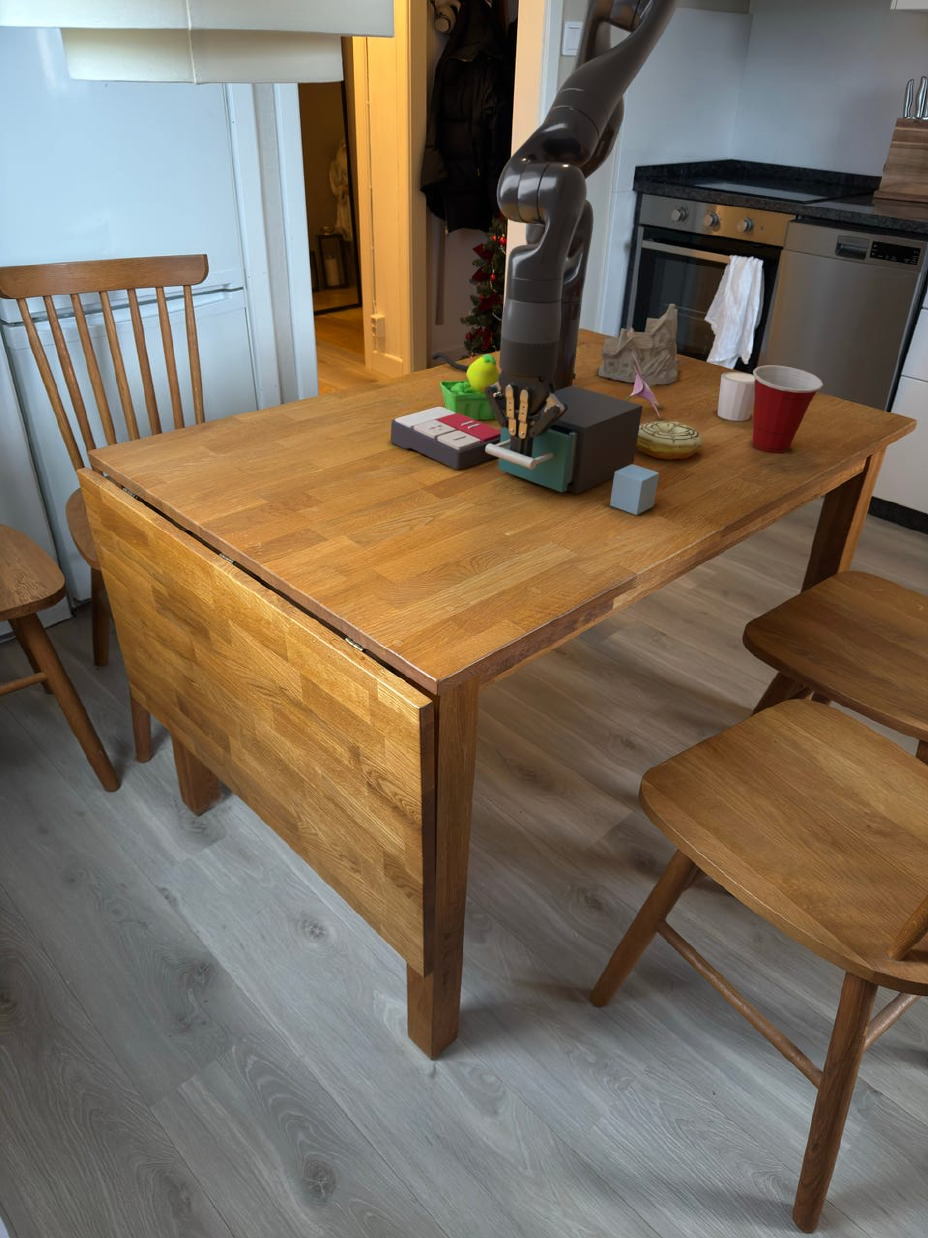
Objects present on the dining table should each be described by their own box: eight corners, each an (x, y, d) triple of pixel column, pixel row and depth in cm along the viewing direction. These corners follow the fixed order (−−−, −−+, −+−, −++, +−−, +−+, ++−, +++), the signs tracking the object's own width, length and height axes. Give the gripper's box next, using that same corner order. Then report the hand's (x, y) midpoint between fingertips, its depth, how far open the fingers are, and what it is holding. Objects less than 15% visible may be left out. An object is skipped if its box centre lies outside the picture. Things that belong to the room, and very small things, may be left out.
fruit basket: (498, 406, 159) (503, 342, 153) (516, 423, 152) (522, 356, 146) (437, 410, 156) (439, 344, 150) (452, 427, 148) (455, 359, 143)
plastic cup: (766, 462, 142) (784, 387, 135) (724, 439, 150) (739, 367, 144) (819, 455, 145) (839, 382, 139) (775, 432, 154) (792, 363, 148)
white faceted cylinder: (757, 422, 158) (765, 383, 154) (718, 420, 158) (726, 381, 154) (747, 410, 164) (755, 372, 160) (710, 408, 164) (717, 370, 160)
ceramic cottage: (684, 367, 186) (692, 292, 178) (670, 391, 173) (678, 311, 165) (610, 361, 191) (615, 288, 183) (591, 384, 178) (595, 306, 170)
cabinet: (577, 494, 127) (585, 427, 122) (507, 468, 134) (512, 404, 129) (633, 467, 137) (642, 405, 132) (565, 445, 144) (572, 385, 139)
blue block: (609, 505, 124) (614, 471, 122) (626, 496, 127) (631, 463, 124) (636, 515, 122) (642, 481, 119) (653, 506, 125) (659, 472, 122)
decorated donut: (713, 453, 144) (717, 430, 142) (672, 467, 138) (676, 444, 136) (661, 434, 150) (665, 412, 148) (620, 447, 144) (623, 424, 142)
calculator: (459, 447, 130) (390, 415, 138) (457, 474, 133) (389, 441, 141) (509, 431, 137) (440, 401, 145) (506, 457, 140) (438, 426, 148)
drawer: (537, 503, 121) (543, 448, 117) (473, 478, 128) (476, 425, 124) (615, 467, 134) (622, 416, 130) (553, 446, 140) (558, 397, 136)
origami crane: (641, 434, 153) (676, 386, 149) (588, 394, 156) (621, 346, 152) (657, 435, 164) (690, 391, 160) (607, 398, 166) (638, 353, 163)
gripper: (589, 339, 114) (574, 467, 123) (508, 319, 121) (500, 442, 130) (554, 349, 109) (541, 481, 118) (472, 328, 116) (466, 454, 125)
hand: (520, 460), depth 124 cm, fingers closed
